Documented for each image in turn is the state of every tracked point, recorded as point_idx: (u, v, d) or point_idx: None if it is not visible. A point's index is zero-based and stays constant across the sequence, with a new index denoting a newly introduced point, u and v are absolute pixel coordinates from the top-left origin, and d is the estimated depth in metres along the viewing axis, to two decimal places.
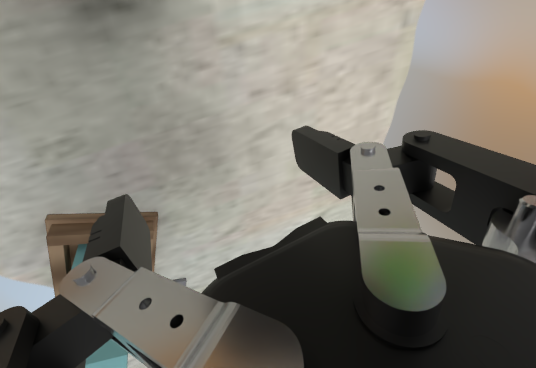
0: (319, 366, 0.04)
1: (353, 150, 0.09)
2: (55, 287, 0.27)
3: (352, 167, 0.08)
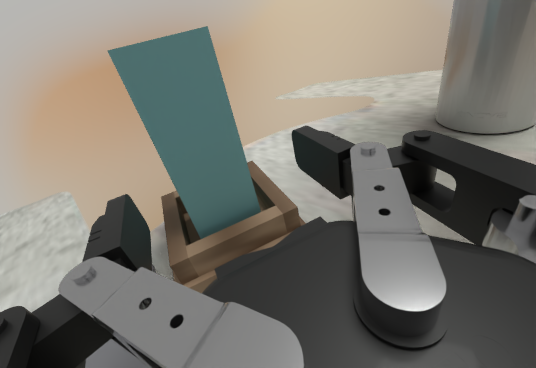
0: (319, 366, 0.04)
1: (353, 150, 0.09)
2: None
3: (352, 167, 0.08)
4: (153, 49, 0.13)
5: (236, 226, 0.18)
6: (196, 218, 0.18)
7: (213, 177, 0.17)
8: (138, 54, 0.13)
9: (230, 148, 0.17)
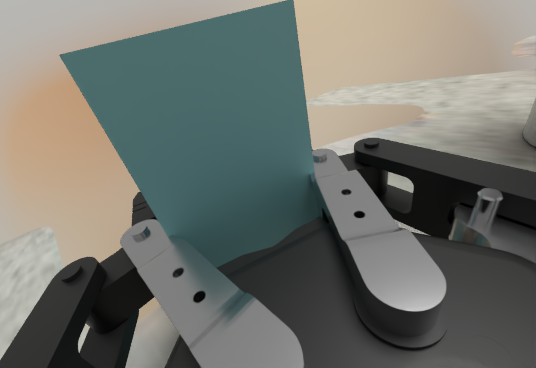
0: (319, 366, 0.04)
1: None
2: None
3: (311, 175, 0.08)
4: (175, 51, 0.05)
5: None
6: None
7: None
8: (138, 63, 0.05)
9: None
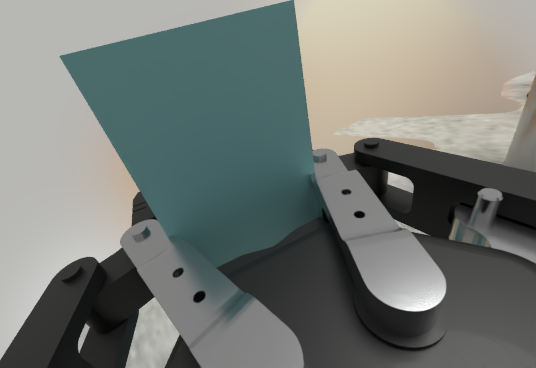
0: (319, 366, 0.04)
1: None
2: None
3: (311, 175, 0.08)
4: (175, 52, 0.05)
5: None
6: None
7: None
8: (139, 64, 0.05)
9: None
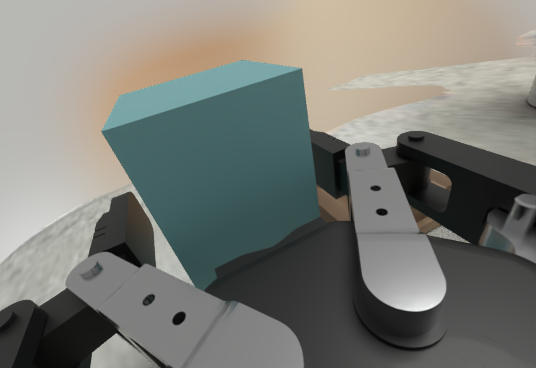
0: (319, 366, 0.04)
1: (348, 150, 0.09)
2: None
3: (347, 168, 0.08)
4: (198, 119, 0.06)
5: None
6: None
7: None
8: (167, 132, 0.06)
9: None
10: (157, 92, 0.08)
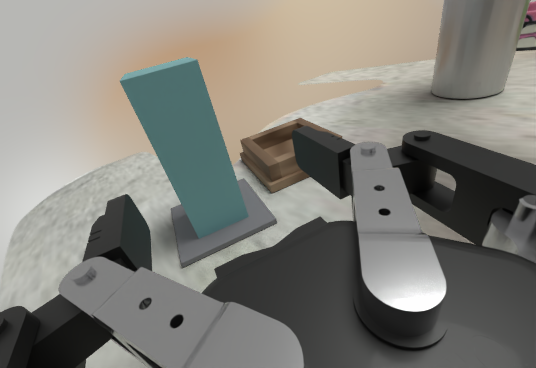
0: (319, 366, 0.04)
1: (353, 150, 0.09)
2: (257, 134, 0.35)
3: (352, 167, 0.08)
4: (155, 78, 0.16)
5: None
6: (189, 211, 0.22)
7: (204, 178, 0.21)
8: (143, 83, 0.16)
9: (217, 154, 0.20)
10: (141, 71, 0.18)
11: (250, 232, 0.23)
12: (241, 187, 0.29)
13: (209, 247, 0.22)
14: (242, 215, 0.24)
